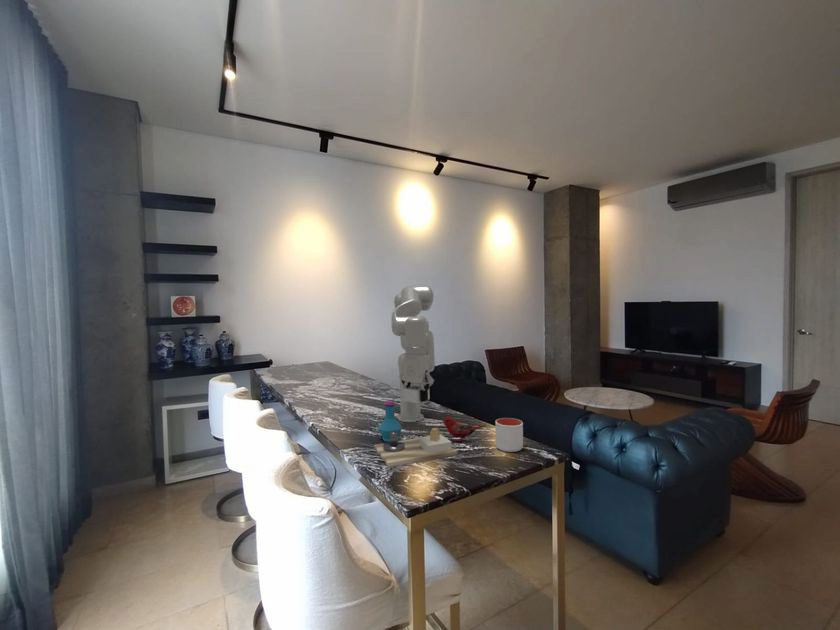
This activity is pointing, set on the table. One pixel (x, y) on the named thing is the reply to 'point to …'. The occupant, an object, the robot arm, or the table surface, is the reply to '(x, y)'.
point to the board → (410, 454)
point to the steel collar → (413, 394)
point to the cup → (509, 434)
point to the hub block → (434, 442)
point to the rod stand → (393, 444)
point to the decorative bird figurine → (459, 428)
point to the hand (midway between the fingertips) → (416, 398)
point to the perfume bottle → (389, 422)
